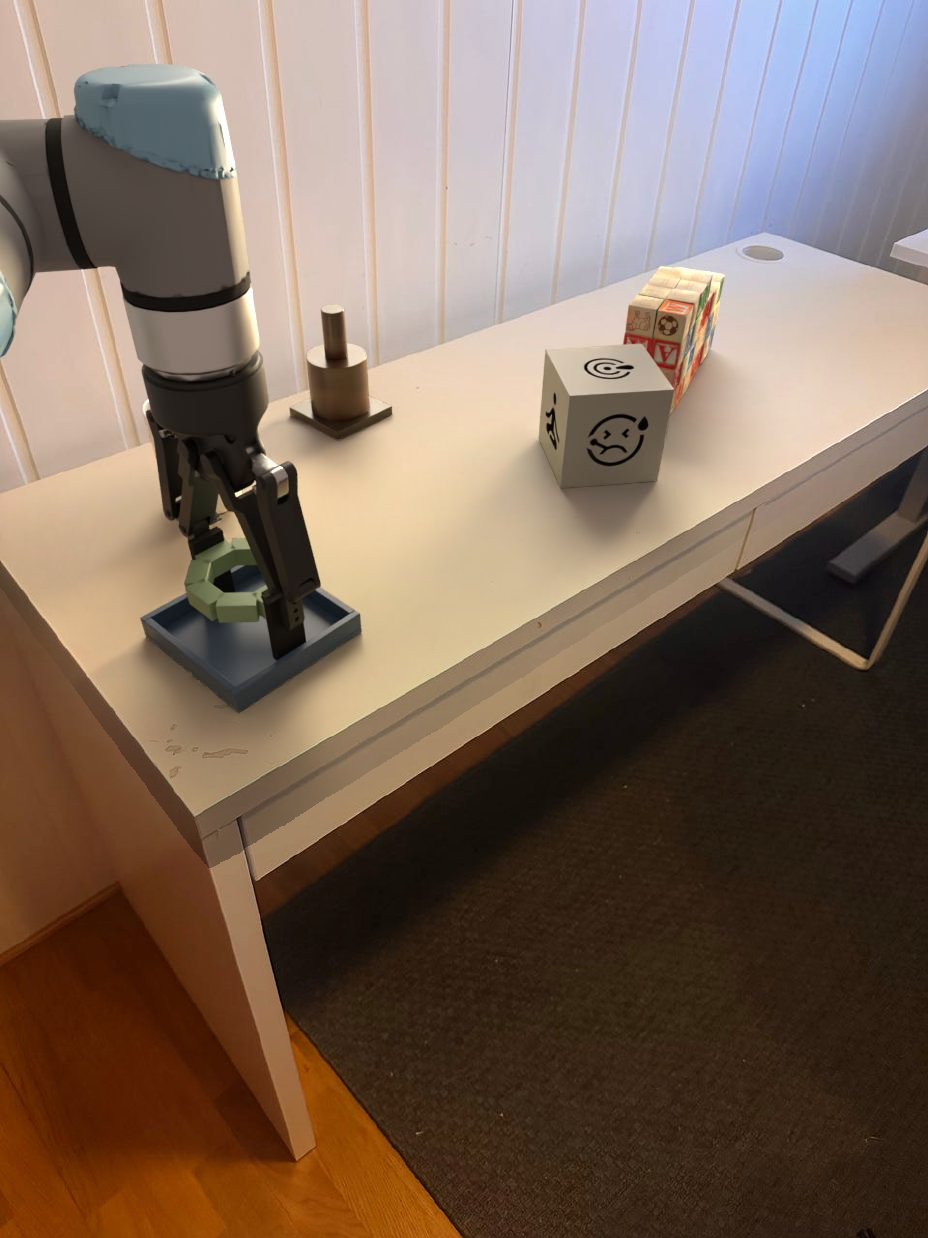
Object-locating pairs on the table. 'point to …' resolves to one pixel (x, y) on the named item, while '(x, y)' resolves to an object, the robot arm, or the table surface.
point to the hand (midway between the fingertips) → (253, 624)
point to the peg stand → (338, 383)
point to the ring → (215, 600)
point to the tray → (247, 641)
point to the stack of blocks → (676, 322)
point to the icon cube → (603, 414)
